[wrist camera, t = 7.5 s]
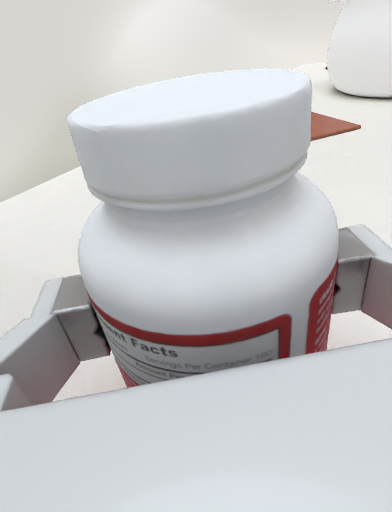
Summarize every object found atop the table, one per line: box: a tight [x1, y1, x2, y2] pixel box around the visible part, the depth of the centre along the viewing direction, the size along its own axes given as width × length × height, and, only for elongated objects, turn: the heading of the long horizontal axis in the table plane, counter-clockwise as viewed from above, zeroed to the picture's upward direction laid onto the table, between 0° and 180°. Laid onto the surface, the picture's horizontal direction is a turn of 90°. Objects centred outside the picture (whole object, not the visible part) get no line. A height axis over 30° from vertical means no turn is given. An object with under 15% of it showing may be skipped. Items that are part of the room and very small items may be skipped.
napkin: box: [311, 112, 361, 140], centre depth 42 cm, size 14×12×1 cm
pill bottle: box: [67, 68, 339, 388], centre depth 10 cm, size 6×6×11 cm
